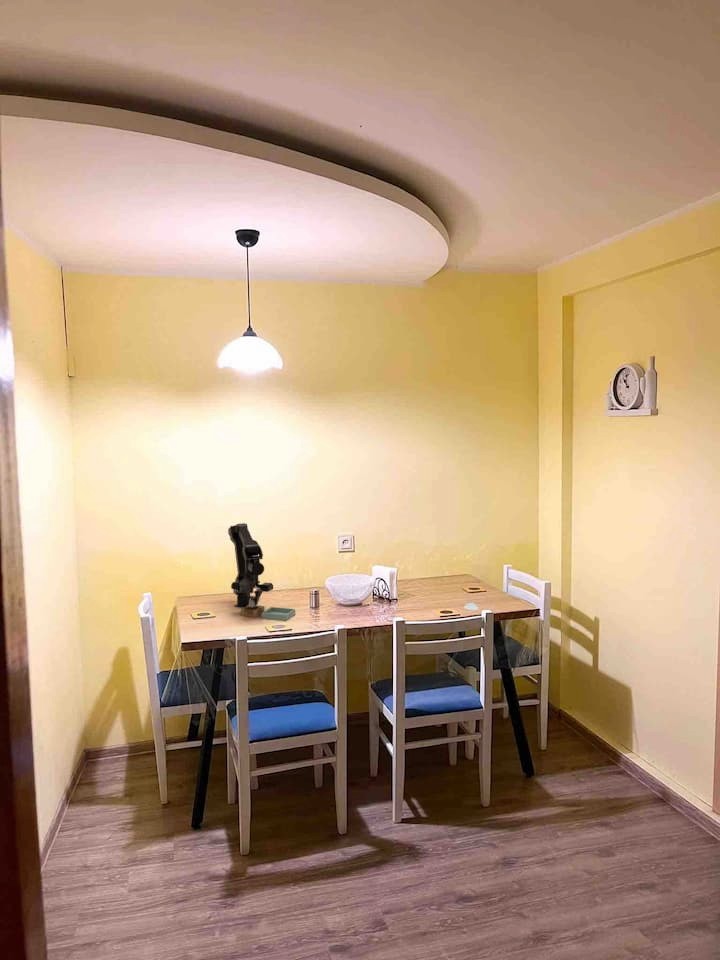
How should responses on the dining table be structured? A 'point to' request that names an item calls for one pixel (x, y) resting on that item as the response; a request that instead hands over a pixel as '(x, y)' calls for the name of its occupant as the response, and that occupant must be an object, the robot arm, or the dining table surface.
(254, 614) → the socket block
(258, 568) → the robot arm
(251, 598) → the pin
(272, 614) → the tray
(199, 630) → the dining table surface
